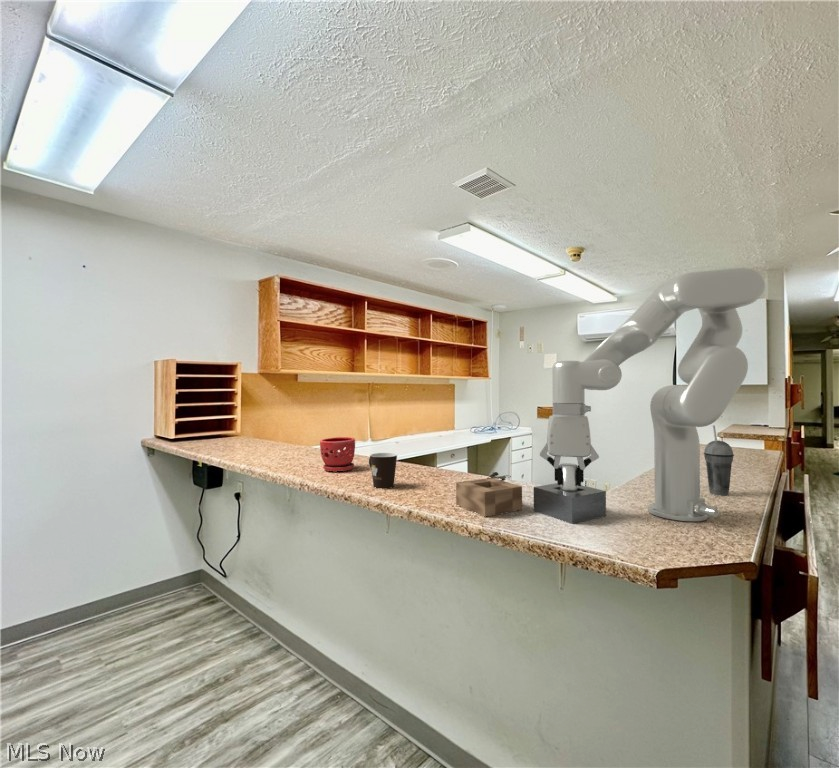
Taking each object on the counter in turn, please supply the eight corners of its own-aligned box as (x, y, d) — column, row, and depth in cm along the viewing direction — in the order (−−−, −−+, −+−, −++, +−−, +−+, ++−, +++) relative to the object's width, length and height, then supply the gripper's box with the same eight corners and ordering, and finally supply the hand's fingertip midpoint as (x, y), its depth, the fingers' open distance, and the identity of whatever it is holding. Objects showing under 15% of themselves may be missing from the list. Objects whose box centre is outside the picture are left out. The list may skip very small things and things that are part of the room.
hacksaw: (493, 475, 153) (493, 471, 153) (521, 477, 148) (521, 473, 148) (471, 489, 131) (471, 484, 131) (504, 493, 127) (503, 488, 127)
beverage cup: (740, 497, 119) (739, 426, 119) (711, 496, 120) (711, 426, 121) (725, 491, 126) (725, 424, 127) (699, 490, 127) (698, 424, 128)
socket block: (606, 515, 102) (605, 491, 103) (572, 523, 96) (571, 497, 97) (566, 504, 113) (566, 481, 113) (533, 510, 107) (533, 487, 107)
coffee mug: (399, 488, 131) (399, 456, 131) (372, 490, 129) (372, 457, 129) (392, 480, 142) (392, 451, 142) (366, 482, 140) (366, 452, 140)
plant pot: (335, 465, 170) (335, 436, 170) (361, 468, 163) (362, 437, 164) (312, 471, 159) (312, 439, 159) (339, 474, 152) (339, 441, 152)
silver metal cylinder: (581, 514, 104) (580, 465, 104) (570, 516, 102) (569, 466, 102) (568, 510, 107) (567, 462, 108) (557, 512, 105) (556, 464, 106)
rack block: (522, 509, 108) (522, 486, 108) (485, 517, 102) (484, 492, 102) (491, 499, 118) (491, 477, 118) (456, 505, 112) (456, 482, 112)
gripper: (602, 410, 106) (602, 483, 106) (533, 409, 111) (533, 479, 111) (607, 411, 99) (607, 490, 99) (533, 411, 103) (533, 485, 103)
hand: (568, 483), depth 105 cm, fingers closed on silver metal cylinder, 4 cm apart
